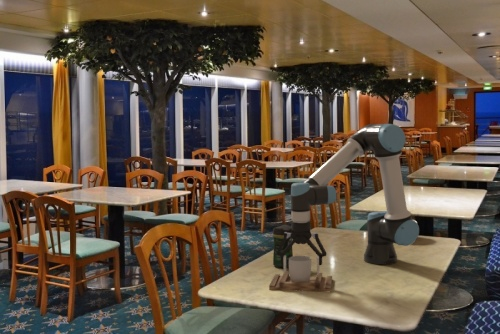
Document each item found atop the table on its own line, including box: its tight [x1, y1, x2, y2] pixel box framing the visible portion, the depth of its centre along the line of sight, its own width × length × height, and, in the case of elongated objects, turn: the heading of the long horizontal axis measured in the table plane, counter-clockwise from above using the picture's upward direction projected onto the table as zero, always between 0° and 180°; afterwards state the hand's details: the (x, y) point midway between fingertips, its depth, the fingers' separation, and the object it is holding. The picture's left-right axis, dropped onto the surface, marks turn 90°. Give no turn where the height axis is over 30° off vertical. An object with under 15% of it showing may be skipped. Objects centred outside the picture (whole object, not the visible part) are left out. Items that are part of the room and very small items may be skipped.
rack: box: [268, 271, 333, 292], centre depth 224 cm, size 24×16×3 cm, turn 79°
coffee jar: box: [272, 224, 294, 268], centre depth 252 cm, size 10×8×19 cm
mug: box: [288, 255, 312, 282], centre depth 224 cm, size 13×9×10 cm
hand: (301, 272), depth 224 cm, fingers open, 13 cm apart
